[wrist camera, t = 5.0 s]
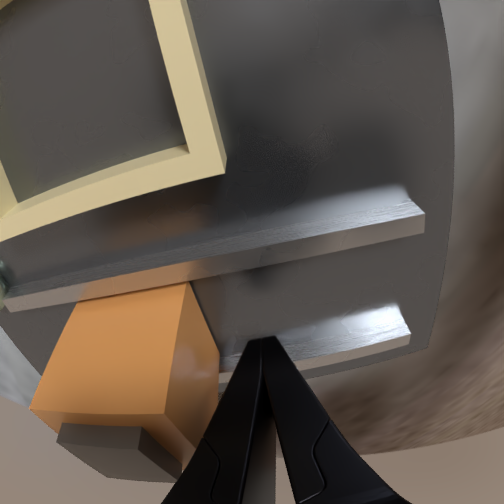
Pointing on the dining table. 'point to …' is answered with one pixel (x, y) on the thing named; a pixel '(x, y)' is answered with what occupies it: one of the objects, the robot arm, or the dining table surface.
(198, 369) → the toggle
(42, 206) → the socket
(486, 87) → the dining table surface
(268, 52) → the panel
